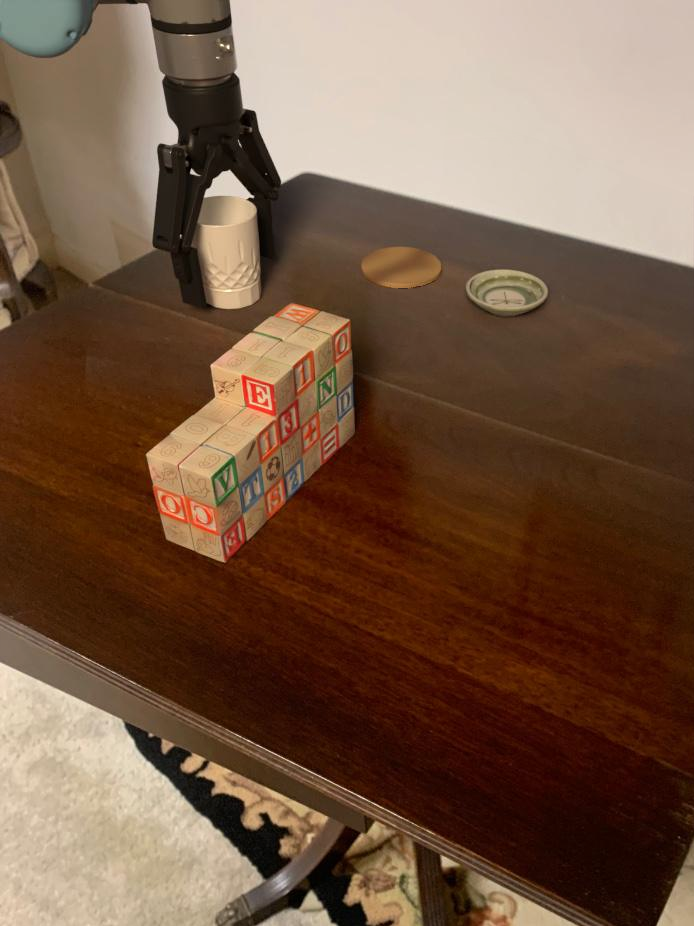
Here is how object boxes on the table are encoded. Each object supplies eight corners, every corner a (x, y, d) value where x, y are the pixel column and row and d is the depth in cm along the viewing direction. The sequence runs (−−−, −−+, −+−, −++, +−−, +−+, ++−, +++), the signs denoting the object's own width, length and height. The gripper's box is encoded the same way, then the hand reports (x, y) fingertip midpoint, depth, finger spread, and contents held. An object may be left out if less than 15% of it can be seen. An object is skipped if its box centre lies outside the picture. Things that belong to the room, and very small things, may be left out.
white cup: (224, 274, 108) (212, 190, 100) (279, 290, 105) (270, 205, 98) (184, 301, 103) (167, 215, 95) (240, 319, 100) (228, 232, 93)
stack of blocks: (226, 566, 73) (202, 445, 64) (165, 542, 75) (133, 420, 66) (356, 432, 87) (351, 316, 78) (302, 414, 88) (291, 299, 79)
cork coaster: (346, 276, 109) (346, 271, 108) (385, 244, 115) (385, 240, 114) (418, 296, 106) (418, 291, 105) (454, 263, 112) (454, 258, 112)
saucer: (530, 283, 109) (532, 264, 107) (557, 322, 103) (560, 303, 101) (455, 290, 107) (455, 271, 105) (478, 331, 101) (479, 311, 99)
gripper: (148, 119, 78) (191, 335, 94) (300, 48, 94) (315, 244, 109) (82, 103, 80) (134, 318, 96) (242, 37, 96) (264, 230, 111)
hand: (231, 279), depth 103 cm, fingers open, 13 cm apart
